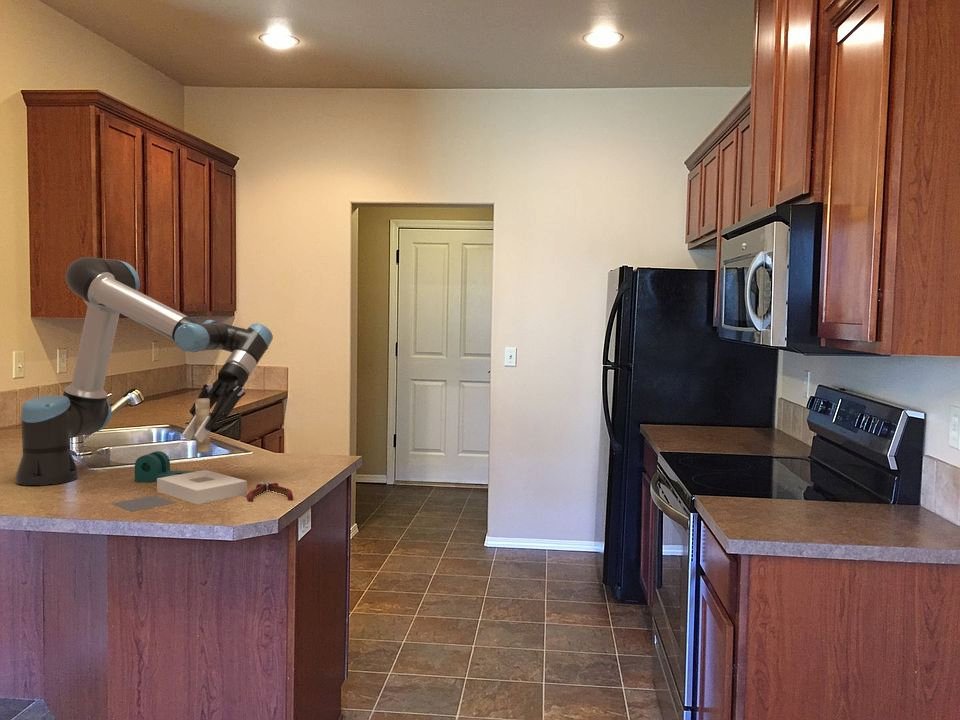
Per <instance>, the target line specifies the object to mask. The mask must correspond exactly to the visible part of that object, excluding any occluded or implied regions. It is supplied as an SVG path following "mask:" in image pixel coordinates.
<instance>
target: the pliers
mask: <svg viewBox="0 0 960 720" xmlns="http://www.w3.org/2000/svg"><path fill="white" fill-rule="evenodd" d="M266 490H270V491H274V492H277V493H281V494H284V495H286V496H287V497H288V498H287V497H286V496H285V497H286V498H287V501H288V500H291V499H292V500H293V498H294V495H293V492H292V490H291V489H290V488H287V487H284V486H281V485H279V483H277V482H272V481H268V482H267V483H266V482H264V481H259V483H257V485H256V486H255V488H254V489H252V490H250V491H249V492H247V496H246V501H247V502H249V503H253V502H254V499H255V498H256V497H255V496H257V495H259V494H261V493H263V492H264V491H266ZM266 492H267V491H266ZM263 494H264V493H263ZM261 495H262V494H261ZM259 496H260V495H259ZM254 497H255V498H254ZM257 497H258V496H257ZM253 498H254V499H253ZM292 500H291V501H292Z"/></svg>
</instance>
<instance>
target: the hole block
mask: <svg viewBox="0 0 960 720" xmlns="http://www.w3.org/2000/svg"><path fill="white" fill-rule="evenodd" d="M156 488H157V489H156V491H157V492H158V493H161V494H162V495H163V494H164V495H167V496H170V497H172V498H176V499H177V500H183V501H185V502H188V503H191V504H194V505H197V506H198V505H203V504H206V503H212V502H216V501H221V500H226V499H230V498H235V497H243V496H244V497H247V494H248V480H245V479H242V478H238V477H237V478H236V477H233V476H229V475H227V474H222V473H218V472H215V471H212V470H207V469H204V470H197V471H195V472H191V473H185V474H179V475H173V476H167V477H162V478H157V482H156Z"/></svg>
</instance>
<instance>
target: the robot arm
mask: <svg viewBox="0 0 960 720" xmlns="http://www.w3.org/2000/svg"><path fill="white" fill-rule="evenodd" d="M65 271H66V272H65V282H66V285H67V287H68V288H69V290H70V291H71V292H72V293H73V294H74V295H76V296H78V297H79V298H80V299H82V300H83V303H85V305H86V306H87V310H86V314H85V317H84V323H83V326H82V332H81V335H80V337H81V338H80V342H79V346H78V351H77V356H76V359H75V360H76V361H75V366H74V369H73V374H72V378H71V379H72V380H71V384H69V385H67V386H65V387H64V389H63V393H62V395H61V394H59V395H45V396H38V397H34V398H31V399H29V400H26V401H25V402H24V403H23V404H22V406H21V415H20V420H21V439H22V440H21V442H22V444H21V445H22V456H21V459H20V462H19V465H18V468H17V471H16V474H15V483H16V482H17V483H18V484H17V483H16V484H17V485H19V484H22V485H21V486H26V485H40V486H50V485H49V484H52V485H58V483H59V484H64V483H68V482H71V481H75V480H76V479H78V478H79V468H78V467H77V464H76V463H77V462H76V461H75V459H74V456H73V454H72V451H71V450H72V448H71V439H73V438H78V437H82V436H89V435H92V434H95V433H96V432H101V431H102V430H104V428H106V427H107V425H108V424H109V423H110V420H111V418H112V415H113V414H112V413H113V412H112V411H113V410H112V406H111V405H110V401H109V400H108V396H109V395H108V393H107V391H105V389H104V386H105V382H106V378H107V374H108V369H109V363H110V359H111V355H112V350H113V345H114V341H115V336H116V332H117V328H118V323H119V318H120V314H121V315H123V316H125V317H126V318H128V319H130V320H133V321H134V322H136V323H139V324H140V325H142V326H145V327H147V328H148V329H150V330H152V331H154V332H156V333H158V334H160V335H162V336H164V337H166V338H168V339H169V340H172V341H174V342H175V344H176V346H177V348H179V349H180V350H181V351H185V352H190V353H198V352H205V351H214V350H215V351H217V350H220V351H221V350H222V351H226V352H230V355H229V356H228V358H227V359H226V360H225V362H224V364H223V366H221V368H220V370H219V371H218V374H217V379H216V380H215V381H214V382H213V383H212V384H211V385H208V384H207V383H206V384H203V386H202V390H201V392H200V393H199V395H198V397H197V398H196V399H199V398H209V399H210V410H211V409H212V411H211V412H210V413H209V415H210V416H207V417H206V418H205V420H204V421H203V423H202V424H201V426H200V428H199V429H198V431H197V432H196V405H195V402H194V403H193V405H192V406H191V408H190V409H189V413H190V414H191V415H192V417H191V419H190V420H189V422H188V423H187V426H186V428H185V429H184V430H183V432H182V434H181V436H182V437H183V438H184V439H185V440H186V441H187V442H190V441H192V439H193V437H194V438H195V440H196V439H197V440H198V441H199V442H203V440H204V438H205V437H206V435H207V434H208V432H209V431H210V432H211V430H212V429H213V428H214V427H215V425H216V424H217V422H219V421H225V420H226V419H227V418H228V417H229V415H230V414H231V412H232V411H233V409H234V408H235V407H236V405H237V403H238V402H239V400H241V399H242V398H243V397H244V396H245V395H246V391H245V390H244V388H243V387H244V386H245V384H246V382H247V381H248V380H249V377H250V376H251V375H252V373H253V371H254V370H255V368H256V366H258V363H259V362H260V360H261V359H262V357H263V356H264V355H265V353H266V351H267V350H268V349H269V347H270V345H271V344H272V341H273V338H274V337H273V333H272V331H271V330H270V328H268V327H267V326H266V325H264V324H262V323H258V322H256V323H251V324H250V326H248V328H244V327H239V326H236V325H231V324H229V323H224V322H222V321H219V320H212V319H207V320H204V322H199V321H197V320H195V319H193V318H192V317H189V316H187V315H186V314H184V313H182V312H179V311H178V310H175V309H173V308H171V307H170V306H168V305H166V304H164V303H162V302H160V301H158V300H156V299H155V298H152V297H150V296H149V295H146V294H144V293H143V292H141V291H139V289H140V286H141V285H140V283H141V282H140V277H139V274H138V273H137V271H136V270H135V267H133V266H132V265H131V264H130V263H128V262H126V261H122V260H118V259H113V258H103V257H95V256H84V257H80V258H77V259H75V260H74V261H72V262H71V263H70V265H68V267H67V268H66V270H65ZM213 406H214V407H213ZM212 407H213V408H212Z"/></svg>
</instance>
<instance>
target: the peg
mask: <svg viewBox="0 0 960 720" xmlns="http://www.w3.org/2000/svg"><path fill="white" fill-rule="evenodd" d="M194 400H195V402H194V403H195V405H196V432H197V431H198V429H199V428H200V426H201V424H202V423H203V421H204V420H205V418H206V417H207V416H210V415H209V413H211V409H210V399H209V398H199V399H197V398H195V399H194ZM210 417H211V416H210ZM195 450H196V451H195V453H197V454H206V453H211V430H210V431H209V432H208V434H207V435H206V437H205V438H204V440H203V442H199V441H198V440H197V439H196V438H195Z"/></svg>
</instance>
